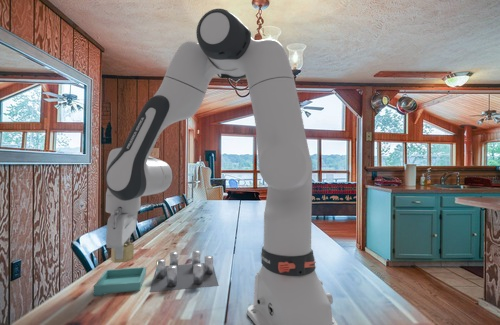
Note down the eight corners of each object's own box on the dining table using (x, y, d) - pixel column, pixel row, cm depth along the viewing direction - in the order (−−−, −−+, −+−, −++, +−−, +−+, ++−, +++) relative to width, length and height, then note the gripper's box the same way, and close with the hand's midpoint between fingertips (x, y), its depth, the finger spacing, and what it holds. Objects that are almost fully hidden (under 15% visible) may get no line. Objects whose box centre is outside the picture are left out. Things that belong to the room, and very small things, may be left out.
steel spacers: (215, 283, 75) (215, 265, 75) (153, 288, 71) (153, 270, 71) (210, 264, 90) (210, 249, 90) (158, 268, 86) (158, 252, 86)
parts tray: (140, 291, 70) (140, 282, 70) (93, 296, 68) (93, 286, 68) (146, 275, 81) (146, 266, 81) (106, 278, 79) (106, 269, 79)
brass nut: (135, 255, 78) (135, 241, 78) (131, 261, 73) (132, 246, 73) (113, 256, 76) (113, 242, 76) (108, 263, 72) (108, 247, 72)
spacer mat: (218, 287, 74) (218, 285, 74) (149, 293, 70) (149, 292, 70) (212, 263, 91) (212, 262, 91) (156, 267, 87) (156, 266, 87)
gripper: (128, 210, 65) (126, 267, 65) (141, 200, 85) (140, 243, 85) (99, 211, 64) (98, 269, 64) (119, 200, 84) (118, 244, 84)
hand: (122, 254), depth 75 cm, fingers closed on brass nut, 5 cm apart
